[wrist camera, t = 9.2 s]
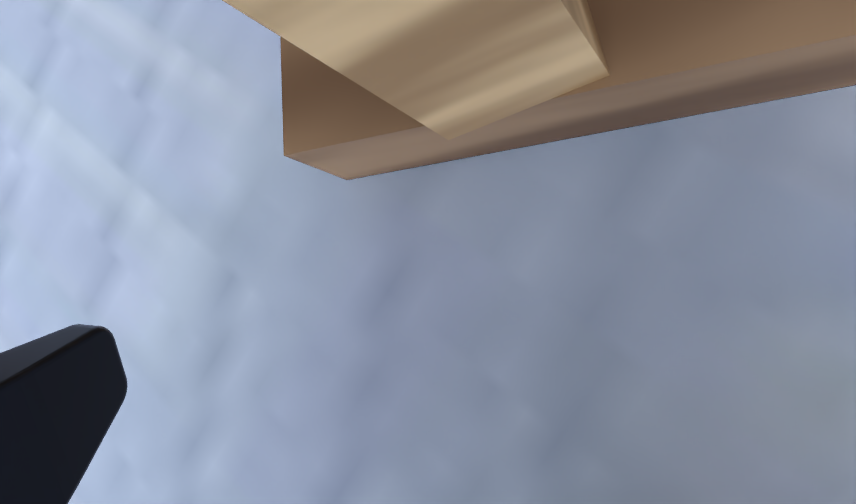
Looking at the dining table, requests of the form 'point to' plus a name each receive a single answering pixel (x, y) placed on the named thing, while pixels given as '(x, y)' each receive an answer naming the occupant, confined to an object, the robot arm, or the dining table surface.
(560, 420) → the dining table surface
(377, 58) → the oak post
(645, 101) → the brown wooden bar
